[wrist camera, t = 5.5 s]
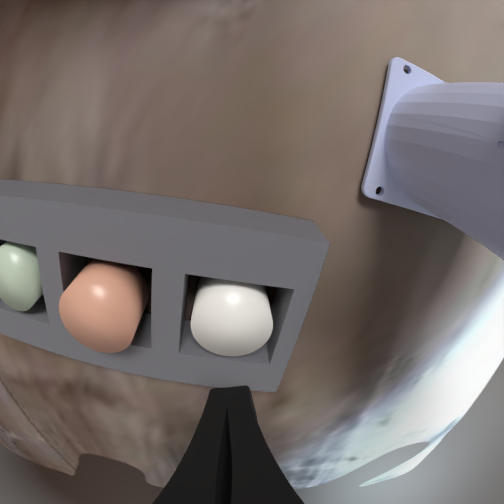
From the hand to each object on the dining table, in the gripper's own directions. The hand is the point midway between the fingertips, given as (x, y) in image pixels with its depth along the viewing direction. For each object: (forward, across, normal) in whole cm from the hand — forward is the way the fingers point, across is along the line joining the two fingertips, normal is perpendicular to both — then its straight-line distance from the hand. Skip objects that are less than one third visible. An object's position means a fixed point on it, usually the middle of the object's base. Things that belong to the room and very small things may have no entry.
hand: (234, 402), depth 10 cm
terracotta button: (+6, +6, -2) cm, 9 cm away
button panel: (+8, +6, -2) cm, 10 cm away
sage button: (+7, +12, -4) cm, 15 cm away
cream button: (+8, 0, 0) cm, 8 cm away
